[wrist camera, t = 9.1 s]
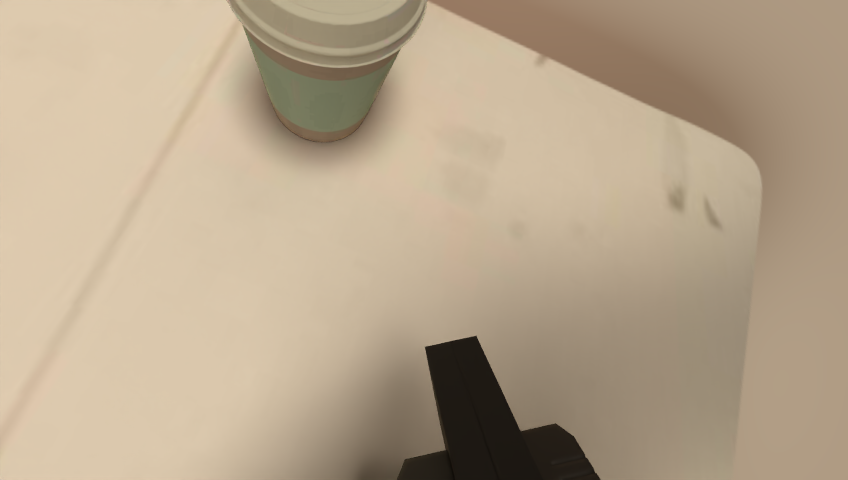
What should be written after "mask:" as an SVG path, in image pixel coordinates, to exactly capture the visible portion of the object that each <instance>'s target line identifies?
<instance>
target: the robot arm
mask: <svg viewBox="0 0 848 480" xmlns="http://www.w3.org/2000/svg"><path fill="white" fill-rule="evenodd" d="M425 350H426V355H427V360H428V365H429V370H430V375H431V380H432V385H433V390H434V395H435V400H436V406H437V411H438V416H439V421H440V426H441V430H442V435H443V439H444V444H445V448H446V450H444V451H440V452H436V453H431V454H427V455H423V456H418V457H414V458H410V459H405V460H404V463H403V465H402V468H401V471H400V473H399V476H398V478H397V480H600V478H599V477H598V475H597V473H595V471H594V469H593V467H592V465H591V464H590V462H589V460H588V459H587V458H586V457H585V454H584V452H583V451H582V449H581V447H580V446H579V444H578V443H577V441H576V439H575V438H574V436H572V435H571V434H570V433H568V432H567V431H565V430H564V429H563V428H561V427H560V426H559V425H557V424H556V423H555V424H551V425H547V426H542V427H538V428H534V429H529V430H525V431H520V429H519V427H518V425H517V422H516V420H515V418H514V416H513V414H512V412H511V410H510V407H509V405H508V403H507V401H506V399H505V397H504V394H503V392H502V390H501V388H500V386H499V384H498V382H497V379H496V377H495V375H494V373H493V371H492V369H491V367H490V364H489V362H488V360H487V358H486V356H485V354H484V351H483V349H482V347H481V345H480V343H479V341H478V339H477V336H473V337H469V338H464V339H459V340H455V341H450V342H445V343H441V344H436V345H432V346H427V347H425Z"/></svg>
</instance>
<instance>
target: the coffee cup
mask: <svg viewBox="0 0 848 480" xmlns="http://www.w3.org/2000/svg"><path fill="white" fill-rule="evenodd" d="M227 2H228V4H229V6H230V8H231V9H232V11H233V12H234V14H235V15H236V17H237V18H238V19H239V21H240V22H241V23H242V25H243V27H244V30H245V33H246V35H247V38H248V41H249V43H250V46H251V49H252V52H253V54H254V57H255V60H256V62H257V65H258V68H259V70H260V73H261V76H262V78H263V81H264V84H265V87H266V89H267V92H268V95H269V97H270V100H271V102H272V105H273V108H274V110H275V112H276V114H277V116H278V118H279V119H280V121H281V122H282V123H283V124H284V125H285V126H286V127H287V128H288V129H289V130H290V131H292V132H293V133H295V134H296V135H298V136H300V137H302V138H305V139H308V140H312V141H318V142H330V141H336V140H339V139H342V138H344V137H347V136H348V135H350V134H352V133H353V132H354V131H355V130H356V129H357V128H358V127H359V126H360V125H361V123H362V122H363V120H364V118H365V116H366V115H367V113H368V111H369V109H370V107H371V105H372V103H373V101H374V99H375V97H376V96H377V94H378V92H379V90H380V88H381V86H382V84H383V82H384V80H385V78H386V76H387V74H388V72H389V70H390V68H391V67H392V65H393V63H394V61H395V59H396V57H397V55H398V53H399V51H400V49H401V48H402V47H403V46H404V45H405V44H406V43H407V42H408V41H409V40H410V39H411V38H412V37H413V36H414V34H415V33H416V31H417V30H418V28H419V26H420V24H421V22H422V20H423V17H424V14H425V11H426V6H427V0H227Z"/></svg>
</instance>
